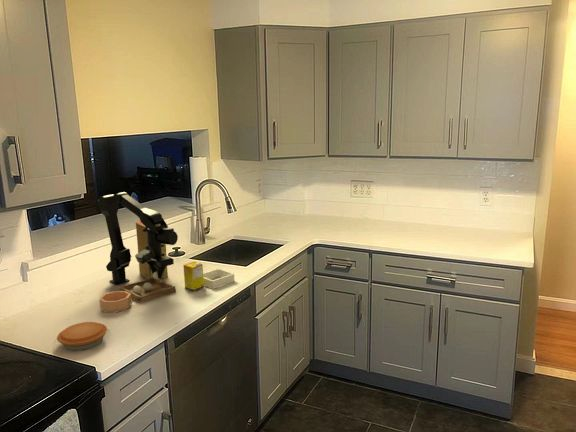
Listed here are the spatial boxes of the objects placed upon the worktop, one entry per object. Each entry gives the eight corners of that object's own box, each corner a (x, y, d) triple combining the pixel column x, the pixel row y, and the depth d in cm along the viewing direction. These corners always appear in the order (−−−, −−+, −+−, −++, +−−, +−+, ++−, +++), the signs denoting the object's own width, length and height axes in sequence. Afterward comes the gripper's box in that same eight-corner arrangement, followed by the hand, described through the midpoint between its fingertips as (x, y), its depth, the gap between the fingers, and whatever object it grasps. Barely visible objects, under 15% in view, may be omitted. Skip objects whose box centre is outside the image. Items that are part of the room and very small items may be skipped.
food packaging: (169, 276, 220) (165, 224, 215) (149, 281, 215) (145, 227, 209) (157, 269, 231) (153, 219, 225) (138, 273, 225) (134, 222, 219)
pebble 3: (151, 279, 204) (150, 271, 204) (158, 277, 207) (158, 269, 206) (156, 281, 202) (155, 273, 201) (163, 279, 204) (162, 271, 204)
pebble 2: (141, 290, 202) (141, 282, 201) (149, 288, 204) (148, 280, 204) (146, 293, 199) (145, 284, 199) (153, 290, 202) (153, 282, 201)
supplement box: (195, 284, 210) (193, 261, 208) (204, 287, 206) (202, 263, 204) (184, 288, 206) (182, 264, 203) (193, 291, 202) (192, 267, 199)
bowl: (96, 307, 187) (95, 296, 186) (122, 299, 195) (121, 288, 194) (109, 315, 180) (108, 304, 179) (136, 306, 188) (135, 295, 187)
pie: (112, 330, 168) (111, 317, 167) (102, 351, 153) (101, 337, 152) (66, 333, 165) (64, 320, 164) (51, 356, 151) (49, 341, 149)
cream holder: (196, 282, 212) (196, 275, 212) (219, 275, 221) (218, 268, 221) (212, 289, 205) (212, 281, 204) (235, 281, 213) (234, 273, 213)
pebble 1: (131, 294, 198) (130, 285, 198) (139, 291, 201) (138, 283, 200) (135, 296, 196) (135, 288, 195) (143, 293, 199) (142, 285, 198)
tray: (120, 292, 202) (119, 287, 202) (154, 282, 214) (153, 277, 213) (141, 303, 191) (140, 297, 190) (175, 291, 202) (175, 286, 201)
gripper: (125, 242, 201) (129, 277, 205) (149, 250, 189) (152, 287, 192) (149, 237, 209) (152, 270, 213) (173, 244, 197) (175, 280, 200)
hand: (157, 277), depth 204 cm, fingers closed on pebble 3, 4 cm apart
